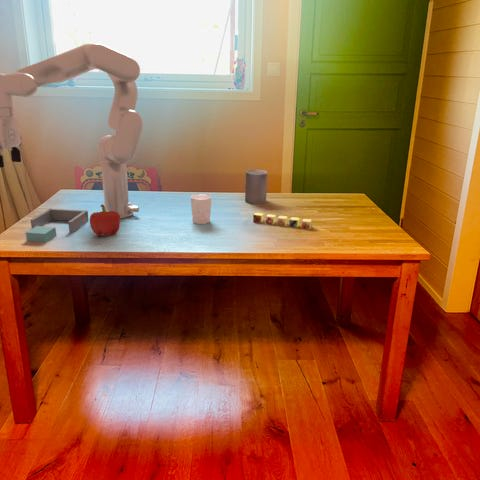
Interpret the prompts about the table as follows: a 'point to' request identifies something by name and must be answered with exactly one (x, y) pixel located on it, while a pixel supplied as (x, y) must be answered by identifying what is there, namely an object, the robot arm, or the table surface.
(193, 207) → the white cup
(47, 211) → the box
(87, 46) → the robot arm
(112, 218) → the vegetable
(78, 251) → the table surface
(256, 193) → the pillar candle
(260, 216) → the row of toy blocks
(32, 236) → the teal square block
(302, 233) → the table surface
